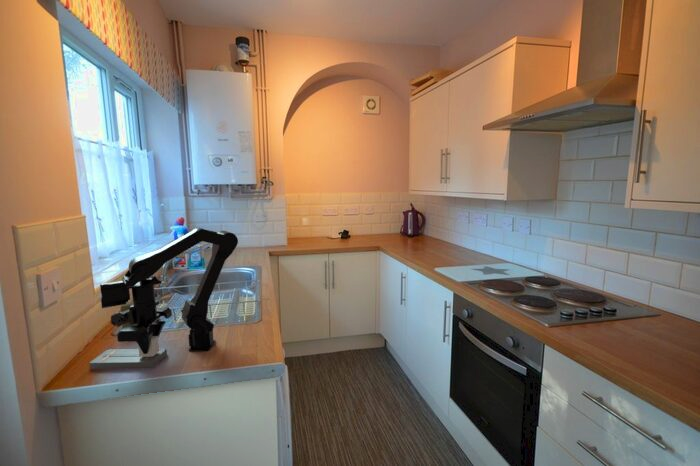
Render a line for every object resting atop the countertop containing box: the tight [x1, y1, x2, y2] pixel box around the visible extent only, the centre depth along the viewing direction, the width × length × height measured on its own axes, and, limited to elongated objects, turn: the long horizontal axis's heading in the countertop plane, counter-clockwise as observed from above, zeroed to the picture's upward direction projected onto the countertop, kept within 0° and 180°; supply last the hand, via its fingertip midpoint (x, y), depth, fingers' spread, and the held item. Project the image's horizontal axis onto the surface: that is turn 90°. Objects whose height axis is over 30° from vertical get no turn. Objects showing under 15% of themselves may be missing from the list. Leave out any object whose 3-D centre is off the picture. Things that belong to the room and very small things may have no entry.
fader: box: [137, 336, 160, 357], centre depth 104 cm, size 4×4×5 cm
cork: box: [120, 301, 136, 330], centre depth 124 cm, size 6×6×11 cm
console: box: [88, 348, 168, 370], centre depth 104 cm, size 18×8×2 cm, turn 91°
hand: (149, 350), depth 104 cm, fingers closed on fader, 3 cm apart
